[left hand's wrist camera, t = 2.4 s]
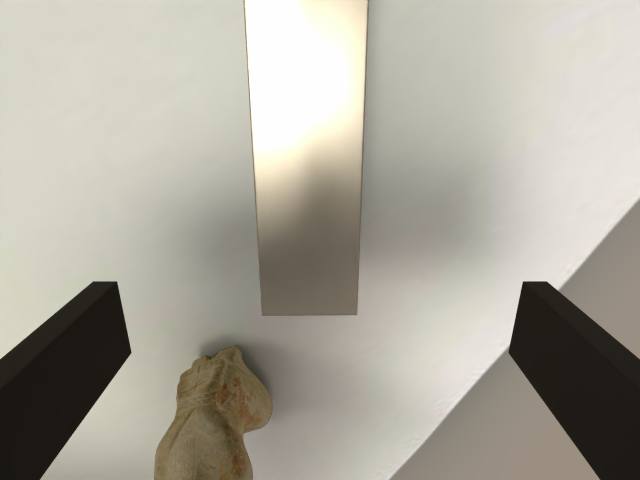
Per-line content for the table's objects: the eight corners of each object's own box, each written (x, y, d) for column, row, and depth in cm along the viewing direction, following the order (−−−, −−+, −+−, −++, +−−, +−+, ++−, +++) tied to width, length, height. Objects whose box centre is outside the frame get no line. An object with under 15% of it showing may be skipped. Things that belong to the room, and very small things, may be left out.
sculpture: (218, 421, 32) (142, 682, 18) (177, 351, 29) (52, 587, 15) (285, 401, 31) (262, 654, 17) (249, 327, 29) (188, 551, 15)
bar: (344, 252, 27) (357, 315, 19) (276, 252, 27) (261, 316, 19) (354, -159, 19) (381, -329, 12) (259, -160, 19) (223, -331, 12)
